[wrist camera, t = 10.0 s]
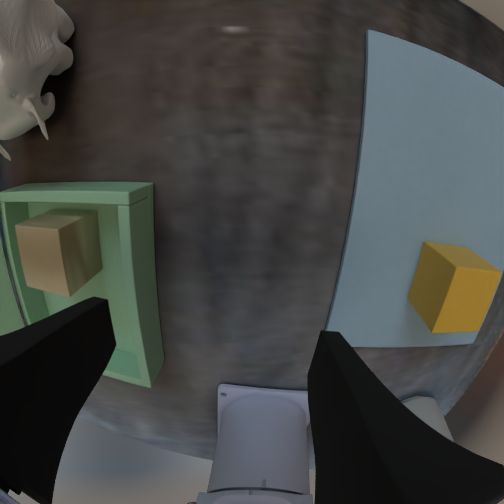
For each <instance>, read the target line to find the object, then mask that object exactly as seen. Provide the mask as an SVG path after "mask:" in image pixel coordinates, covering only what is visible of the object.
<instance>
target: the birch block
mask: <svg viewBox="0 0 504 504" xmlns="http://www.w3.org/2000/svg"><path fill="white" fill-rule="evenodd" d="M15 229H16V236H17V242H18V248H19V253H20V258H21V263H22V267H23V272H24V276H25V280H26V284H27V286H28V287H32V288H35V289H39V290H43V291H46V292H50V293H54V294H58V295H61V296H65V297H71V296H72V295H73V294H75V293H76V292H77V291H78V290H79V289H80V288H81V287H82V286H84V285H85V284H86V283H87V282H88V281H89V280H91V279H92V278H93V277H94V276H95V275H96V274H98V273H99V272H100V271H101V270H102V269H103V266H102V258H101V249H100V239H99V228H98V214H97V210H78V209H56V208H54V209H51V210H49V211H47V212H44V213H42V214H39V215H37V216H35V217H32V218H30V219H28V220H26V221H23V222H21V223H19V224H17V225H15Z"/></svg>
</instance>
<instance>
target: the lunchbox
mask: <svg viewBox="0 0 504 504" xmlns="http://www.w3.org/2000/svg"><path fill="white" fill-rule="evenodd" d="M153 185H154V184H153V183H147V182H51V183H27V184H24V185H21V186H17V187H14V188H11V189H8V190H5V191H1V192H0V212H1V219H2V227H3V233H4V239H5V245H6V250H7V255H8V260H9V264H10V268H11V273H12V277H13V281H14V284H15V288H16V292H17V295H18V299H19V302H20V305H21V308H22V312H23V315H24V318H25V321H26V323H27V326H28V325H30V324H33V323H35V322H37V321H39V320H42V319H44V318H46V317H48V316H50V315H53V314H55V313H57V312H59V311H61V310H63V309H65V308H67V307H70V306H72V305H74V304H76V303H78V302H81V301H83V300H85V299H88V298H91V297H94V296H95V297H99V298H104V299H108V303H109V309H110V314H111V320H112V325H113V330H114V335H115V339H116V344H117V345H116V347H115V350H114V352H113V354H112V357H111V359H110V361H109V363H108V365H107V367H106V369H105V371H104V372H103V374H102V375H105V376H108V377H111V378H115V379H118V380H122V381H125V382H129V383H132V384H136V385H140V386H144V387H148V388H152V387H153V384H154V382H155V380H156V378H157V376H158V373H159V371H160V369H161V367H162V365H163V363H164V352H163V345H162V336H161V328H160V318H159V308H158V297H157V284H156V269H155V250H154V213H153ZM54 208H56V209H78V210H97V214H98V228H99V239H100V249H101V258H102V266H103V269H102V270H101V271H100V272H99V273H98V274H96V275H95V276H94V277H93V278H92V279H91V280H89V281H88V282H87V283H86V284H85V285H84V286H82V287H81V288H80V289H79V290H78V291H77V292H76V293H75V294H73V295H72V296H71V297H65V296H61V295H58V294H54V293H50V292H46V291H43V290H39V289H35V288H32V287H28V286H27V284H26V280H25V276H24V272H23V267H22V263H21V258H20V253H19V248H18V242H17V236H16V229H15V225H17V224H19V223H21V222H23V221H26V220H28V219H30V218H32V217H35V216H37V215H39V214H42V213H44V212H47V211H49V210H51V209H54Z"/></svg>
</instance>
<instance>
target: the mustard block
mask: <svg viewBox="0 0 504 504" xmlns="http://www.w3.org/2000/svg"><path fill="white" fill-rule="evenodd" d="M501 274H502V272H501V271H500V270H498V269H497V268H496V267H494V266H493V265H491V264H490V263H489V262H487V261H486V260H485V259H483V258H482V257H480V256H479V255H478V254H476V253H475V252H473V251H472V250H470V249H469V248H466V247H460V246H454V245H448V244H441V243H435V242H429V241H424V242H423V246H422V250H421V254H420V257H419V261H418V264H417V268H416V271H415V275H414V278H413V281H412V284H411V287H410V291H409V294H408V297H407V299H408V300H409V302H410V303H411V304H412V306H413V307H414V308H415V310H416V311H417V313H418V314H419V315H420V317H421V318H422V320H423V321H424V323H425V324H426V325H427V327H428V328H429V330H430V331H431V333H456V332H477V331H478V330H479V328H480V326H481V324H482V322H483V319H484V317H485V315H486V313H487V310H488V308H489V306H490V303H491V301H492V298H493V296H494V293H495V291H496V288H497V285H498V282H499V280H500V277H501Z"/></svg>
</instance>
